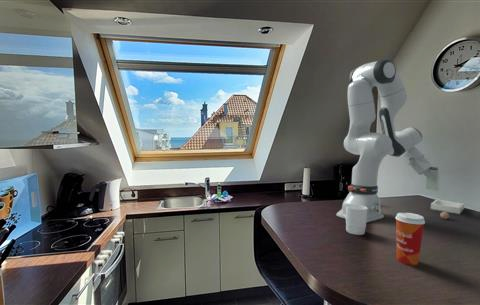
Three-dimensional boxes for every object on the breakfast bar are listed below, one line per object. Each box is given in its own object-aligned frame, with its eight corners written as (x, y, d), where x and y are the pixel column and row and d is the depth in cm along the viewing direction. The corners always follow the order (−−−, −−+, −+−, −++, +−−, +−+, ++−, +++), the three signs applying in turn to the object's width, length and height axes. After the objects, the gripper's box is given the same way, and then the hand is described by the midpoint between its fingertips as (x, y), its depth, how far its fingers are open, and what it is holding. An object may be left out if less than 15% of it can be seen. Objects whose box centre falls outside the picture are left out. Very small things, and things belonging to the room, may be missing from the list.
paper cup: (387, 255, 86) (389, 211, 85) (410, 255, 86) (413, 211, 85) (404, 267, 78) (407, 219, 77) (429, 267, 79) (432, 219, 78)
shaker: (436, 190, 134) (438, 168, 133) (425, 189, 137) (427, 167, 136) (438, 189, 137) (440, 167, 136) (427, 188, 140) (429, 166, 139)
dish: (459, 214, 134) (460, 208, 133) (430, 209, 142) (431, 203, 142) (463, 209, 143) (464, 203, 143) (436, 204, 152) (436, 199, 152)
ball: (448, 220, 124) (448, 213, 123) (439, 218, 126) (439, 211, 126) (449, 218, 126) (449, 212, 126) (440, 217, 128) (441, 210, 128)
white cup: (365, 230, 109) (366, 205, 108) (367, 236, 101) (368, 210, 100) (344, 227, 111) (345, 203, 110) (344, 233, 104) (346, 208, 103)
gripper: (413, 154, 133) (436, 176, 127) (423, 153, 148) (443, 173, 142) (402, 162, 137) (424, 184, 131) (413, 160, 151) (432, 180, 145)
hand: (434, 178), depth 136 cm, fingers closed on shaker, 4 cm apart
